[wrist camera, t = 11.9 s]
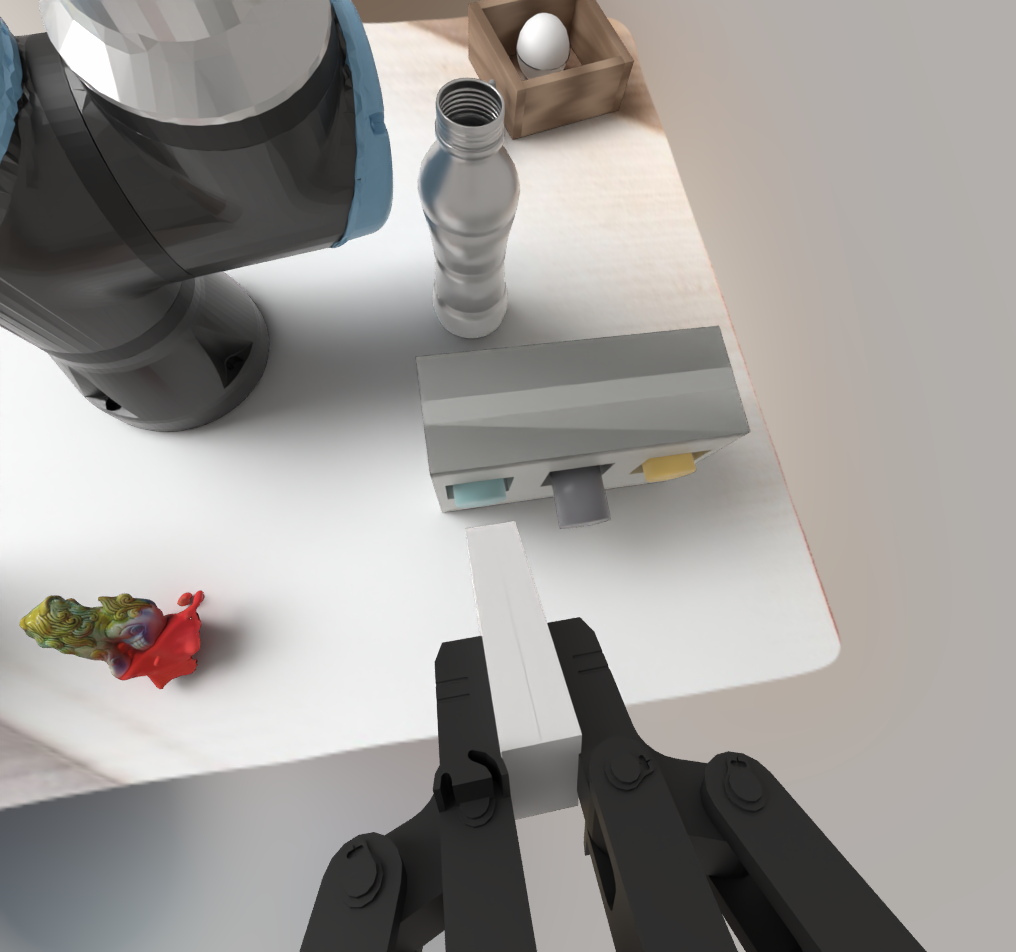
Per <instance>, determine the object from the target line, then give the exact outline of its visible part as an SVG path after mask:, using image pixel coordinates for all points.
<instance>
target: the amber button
mask: <svg viewBox="0 0 1016 952" xmlns="http://www.w3.org/2000/svg"><path fill="white" fill-rule="evenodd" d="M642 467H643V472H644V476H645V480H646V481H647V482H658V481H665V480H670V479H674V478H678V477H682V476H685V475H688V474H691V473H693V472H695V471H696V466H695V463H694V459H693V455H692V453H685V454H678V455H670V456H663V457H656V458H649V459H648V460H646V461H645V462H644V463H642Z"/></svg>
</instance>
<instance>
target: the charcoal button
mask: <svg viewBox="0 0 1016 952" xmlns="http://www.w3.org/2000/svg"><path fill="white" fill-rule="evenodd" d="M550 477H551V483H552V488H553V494H554V499H555V505H556V510H557V515H558V521H559V526H560V528H575V527H582V526H588V525H593V524H597V523H601V522H605V521H608V520H610V519H611V518H610V513H609V508H608V503H607V499H606V494H605V489H604V484H603V480H602V475H601V470H600V465H596V466H589V467H581V468H574V469H567V470H559V471H552V472H550Z"/></svg>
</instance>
